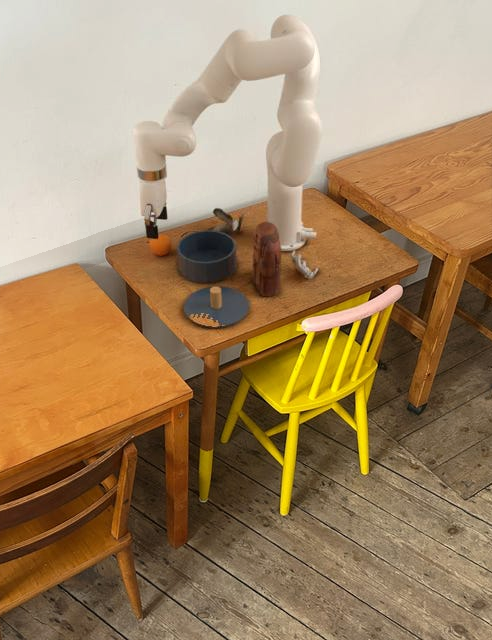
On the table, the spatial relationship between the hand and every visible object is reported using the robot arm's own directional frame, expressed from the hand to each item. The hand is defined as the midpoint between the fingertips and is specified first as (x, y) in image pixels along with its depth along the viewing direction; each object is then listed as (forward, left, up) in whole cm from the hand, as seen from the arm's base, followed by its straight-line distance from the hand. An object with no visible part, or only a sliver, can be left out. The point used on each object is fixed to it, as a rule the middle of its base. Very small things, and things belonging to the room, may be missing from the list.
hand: (157, 228), depth 201 cm
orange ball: (0, 0, -5) cm, 5 cm away
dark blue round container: (-14, +4, -8) cm, 17 cm away
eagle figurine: (-16, -14, -9) cm, 23 cm away
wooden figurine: (-31, +10, -9) cm, 34 cm away
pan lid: (-20, +22, -8) cm, 31 cm away
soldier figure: (-40, +3, -9) cm, 41 cm away
